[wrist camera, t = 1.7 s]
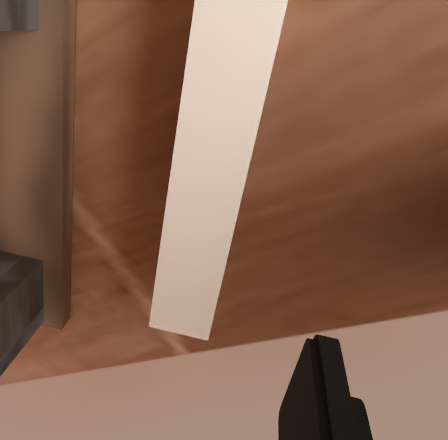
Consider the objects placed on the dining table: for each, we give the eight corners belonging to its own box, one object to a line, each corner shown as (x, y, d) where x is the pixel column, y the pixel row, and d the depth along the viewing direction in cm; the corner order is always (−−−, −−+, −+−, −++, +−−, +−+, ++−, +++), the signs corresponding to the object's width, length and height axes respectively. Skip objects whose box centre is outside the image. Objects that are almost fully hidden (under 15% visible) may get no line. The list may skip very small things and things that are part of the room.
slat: (224, -54, 22) (206, -79, 16) (296, -38, 22) (301, -58, 16) (170, 275, 32) (148, 326, 26) (220, 287, 32) (208, 340, 26)
